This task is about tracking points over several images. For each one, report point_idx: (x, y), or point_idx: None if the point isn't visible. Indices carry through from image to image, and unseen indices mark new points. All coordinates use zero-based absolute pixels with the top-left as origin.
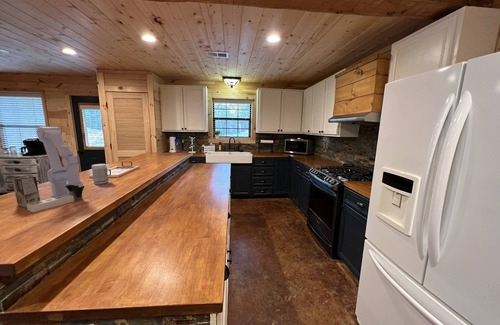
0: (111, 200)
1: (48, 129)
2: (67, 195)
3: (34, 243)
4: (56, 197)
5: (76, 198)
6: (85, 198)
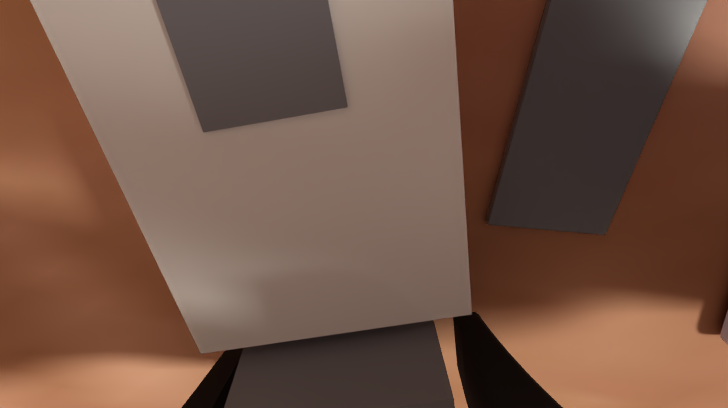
0: None
1: None
2: (348, 281)
3: None
4: (383, 19)
5: None
6: None
